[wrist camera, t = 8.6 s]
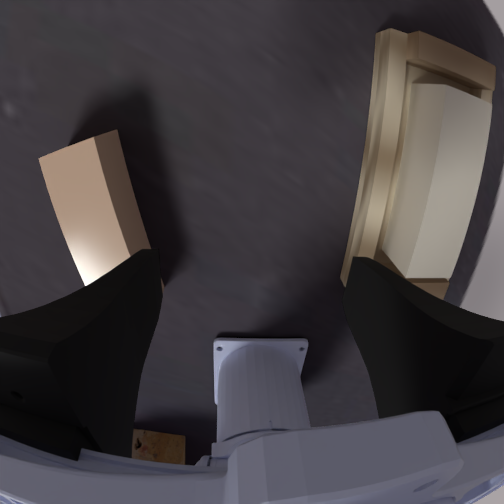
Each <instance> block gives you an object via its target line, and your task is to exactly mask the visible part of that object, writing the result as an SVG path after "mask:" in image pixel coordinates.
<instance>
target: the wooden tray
mask: <svg viewBox="0 0 504 504" xmlns="http://www.w3.org/2000/svg"><path fill="white" fill-rule="evenodd" d="M495 77H496V66H494V65H492V64H490V63H488V62H487V61H485V60H483V59H481V58H479V57H477V56H475V55H473V54H471V53H469V52H467V51H465V50H463V49H461V48H459V47H457V46H455V45H452V44H450V43H448V42H446V41H443V40H441V39H439V38H436V37H434V36H431V35H429V34H426V33H424V32H421V31H416V32H412V33H409V34H407V33H404V32H401V31H398V30H395V29H392V28H389V29H387V30H384V31H381V32H378V33H376V38H375V54H374V68H373V80H372V90H371V100H370V109H369V118H368V126H367V134H366V141H365V148H364V155H363V162H362V168H361V174H360V180H359V186H358V192H357V198H356V203H355V209H354V214H353V219H352V224H351V229H350V234H349V239H348V244H347V248H346V253H345V257H344V262H343V266H342V271H341V275H340V279H341V280H342V282H343V284H344V286H345V287H346V283H347V279H348V275H349V271H350V266H351V262H352V258H353V256H356V257H369V258H371V259H373V260H375V261H377V262H378V263H380V264H382V265H384V266H385V267H387V268H388V269H390V270H392V271H393V272H395V273H396V274H398V275H400V276H401V277H403V278H404V279H406V280H407V281H409V282H411V283H412V284H414V285H416V286H417V287H419V288H421V289H423V290H424V291H426V292H428V293H430V294H432V295H433V296H435V297H437V298H440V299H442V300H443V298H444V296H445V293H446V291H447V288H448V286H449V283H450V282H449V278H405V277H404V276H403V274H402V273H401V272H400V271H399V269H398V268H397V267H396V266H395V264H394V263H393V262H392V261H391V260H390V258H389V257H388V256H387V255H386V254H385V252H384V251H383V250H382V246H383V242H384V238H385V234H386V230H387V226H388V222H389V217H390V213H391V208H392V204H393V199H394V194H395V189H396V184H397V179H398V174H399V168H400V163H401V157H402V151H403V144H404V138H405V131H406V124H407V116H408V108H409V99H410V89H411V84H443V85H448V86H451V87H453V88H456V89H458V90H461V91H463V92H466V93H468V94H470V95H473V96H475V97H477V98H480V99H482V100H484V101H486V102H488V103H490V104H492V93H493V91H495Z"/></svg>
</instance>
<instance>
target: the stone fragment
mask: <svg viewBox="0 0 504 504" xmlns="http://www.w3.org/2000/svg"><path fill="white" fill-rule="evenodd" d="M132 459H138V460H145V461H153V462H161V463H170V464H180V465H185V436H182V435H174V434H167V433H160V432H153V431H147V430H138V429H134V430H133V442H132Z"/></svg>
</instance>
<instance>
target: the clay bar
mask: <svg viewBox="0 0 504 504" xmlns="http://www.w3.org/2000/svg"><path fill="white" fill-rule="evenodd" d="M491 113H492V104H490V103H488V102H486V101H484V100H482V99H480V98H477V97H475V96H473V95H470V94H468V93H466V92H463V91H461V90H458V89H456V88H453V87H451V86H448V85H443V84H411V89H410V99H409V108H408V116H407V124H406V131H405V138H404V144H403V151H402V157H401V163H400V168H399V174H398V179H397V184H396V189H395V194H394V199H393V204H392V208H391V213H390V217H389V222H388V226H387V230H386V234H385V238H384V242H383V246H382V250H383V251H384V252H385V254H386V255H387V256H388V257H389V258H390V260H391V261H392V262H393V263H394V264H395V266H396V267H397V268H398V269H399V271H400V272H401V273H402V274H403V276H404V277H405V278H451V276H452V273H453V270H454V268H455V265H456V262H457V259H458V256H459V253H460V250H461V247H462V244H463V241H464V238H465V235H466V232H467V228H468V225H469V222H470V218H471V215H472V211H473V207H474V203H475V200H476V196H477V192H478V187H479V183H480V179H481V174H482V169H483V164H484V159H485V154H486V148H487V142H488V136H489V129H490V121H491Z"/></svg>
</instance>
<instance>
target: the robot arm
mask: <svg viewBox="0 0 504 504" xmlns="http://www.w3.org/2000/svg"><path fill="white" fill-rule="evenodd" d="M162 298H163V293H162V283H161V272H160V260H159V249H141V250H139V251H138V252H136V253H135V254H133V255H132V256H130V257H129V258H128V259H126V260H125V261H123V262H122V263H121V264H119V265H118V266H116V267H115V268H113V269H112V270H111V271H109V272H107V273H106V274H104V275H103V276H101V277H100V278H98V279H97V280H95V281H93V282H92V283H90V284H89V285H87V286H85V287H83V288H81V289H79V290H78V291H76V292H74V293H72V294H70V295H68V296H65V297H63V298H61V299H58V300H56V301H53V302H51V303H49V304H46V305H44V306H41V307H38V308H35V309H32V310H29V311H25V312H22V313H18V314H14V315H10V316H5V317H0V504H472V503H474V502H476V501H478V500H480V499H481V498H483V497H485V496H487V495H488V494H490V493H491V492H493V491H495V490H496V489H498V488H500V487H501V486H503V485H504V321H500V320H495V319H491V318H488V317H485V316H481V315H478V314H475V313H472V312H470V311H467V310H465V309H462V308H459V307H457V306H455V305H452V304H450V303H448V302H446V301H444V300H442V299H440V298H437V297H435V296H433V295H432V294H430V293H428V292H426V291H424V290H423V289H421V288H419V287H417V286H416V285H414V284H412V283H411V282H409V281H407V280H406V279H404V278H403V277H401V276H400V275H398V274H396V273H395V272H393V271H392V270H390V269H388V268H387V267H385V266H384V265H382V264H380V263H378V262H377V261H375V260H373V259H371V258H369V257H356V256H353V258H352V262H351V266H350V271H349V275H348V279H347V283H346V287H345V290H344V294H343V298H342V303H343V307H344V311H345V315H346V318H347V322H348V324H349V327H350V329H351V332H352V334H353V336H354V339H355V341H356V343H357V346H358V348H359V350H360V353H361V355H362V357H363V360H364V362H365V365H366V367H367V370H368V373H369V376H370V380H371V384H372V388H373V391H374V395H375V400H376V405H377V410H378V415H379V419H376V420H370V421H363V422H357V423H350V424H342V425H333V426H324V427H313V428H311V427H310V422H309V417H308V412H307V407H306V402H305V398H304V393H303V388H302V383H301V379H300V375H301V371H302V368H303V364H304V360H305V356H306V352H307V348H308V340H307V339H304V338H292V339H258V338H216V339H215V340H214V390H215V404H217V405H218V407H217V443H212V456H206V455H205V456H202V457H201V459H200V460H199V461H198V462H197V463H196V464H195V466H193V465H180V464H170V463H161V462H153V461H145V460H138V459H132V442H133V430H134V420H135V411H136V404H137V396H138V390H139V384H140V378H141V373H142V369H143V365H144V362H145V359H146V356H147V353H148V349H149V346H150V343H151V340H152V337H153V334H154V331H155V328H156V325H157V322H158V319H159V314H160V309H161V303H162ZM218 347H222V348H218ZM301 347H303V348H301Z"/></svg>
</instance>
